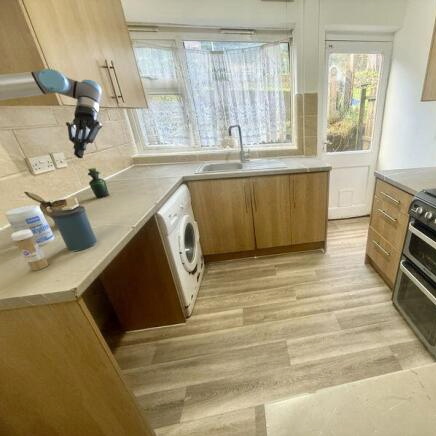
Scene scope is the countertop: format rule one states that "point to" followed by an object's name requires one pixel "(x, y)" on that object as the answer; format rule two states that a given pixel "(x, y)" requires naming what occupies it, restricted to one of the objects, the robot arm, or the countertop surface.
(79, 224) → the tumbler
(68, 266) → the countertop surface
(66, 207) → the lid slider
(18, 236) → the sprinkles bottle
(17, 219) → the supplement tub
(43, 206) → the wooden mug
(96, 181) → the potion bottle
